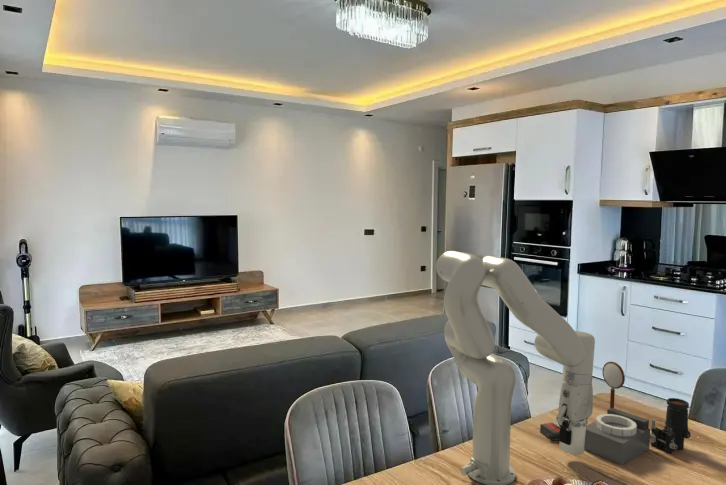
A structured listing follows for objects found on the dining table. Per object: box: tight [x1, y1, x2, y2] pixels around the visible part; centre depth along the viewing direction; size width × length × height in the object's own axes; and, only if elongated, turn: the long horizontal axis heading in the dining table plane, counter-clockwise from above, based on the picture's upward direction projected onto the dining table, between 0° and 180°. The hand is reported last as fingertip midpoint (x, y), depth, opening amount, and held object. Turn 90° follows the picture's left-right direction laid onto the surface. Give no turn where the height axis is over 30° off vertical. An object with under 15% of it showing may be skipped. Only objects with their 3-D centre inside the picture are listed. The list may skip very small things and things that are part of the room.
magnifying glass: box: [602, 361, 626, 409], centre depth 163 cm, size 9×2×20 cm, turn 18°
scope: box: [650, 397, 692, 455], centre depth 146 cm, size 8×14×10 cm
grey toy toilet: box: [584, 407, 651, 466], centre depth 146 cm, size 16×12×8 cm
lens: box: [558, 416, 588, 455], centre depth 138 cm, size 6×6×9 cm
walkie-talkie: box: [539, 421, 560, 441], centre depth 155 cm, size 9×4×20 cm
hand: (572, 439), depth 138 cm, fingers closed on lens, 6 cm apart
